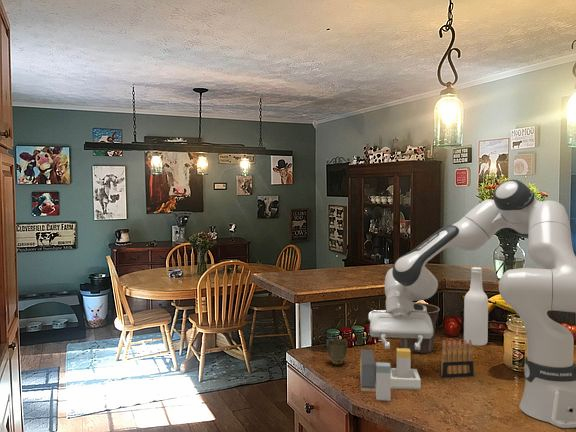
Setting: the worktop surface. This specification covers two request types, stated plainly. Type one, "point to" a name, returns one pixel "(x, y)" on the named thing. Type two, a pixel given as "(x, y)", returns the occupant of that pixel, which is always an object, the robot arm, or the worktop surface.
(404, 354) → the block
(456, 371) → the ammunition clip
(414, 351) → the plant pot
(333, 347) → the cup
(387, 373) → the block
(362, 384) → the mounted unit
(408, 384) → the parts tray
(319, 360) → the worktop surface
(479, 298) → the white bottle
